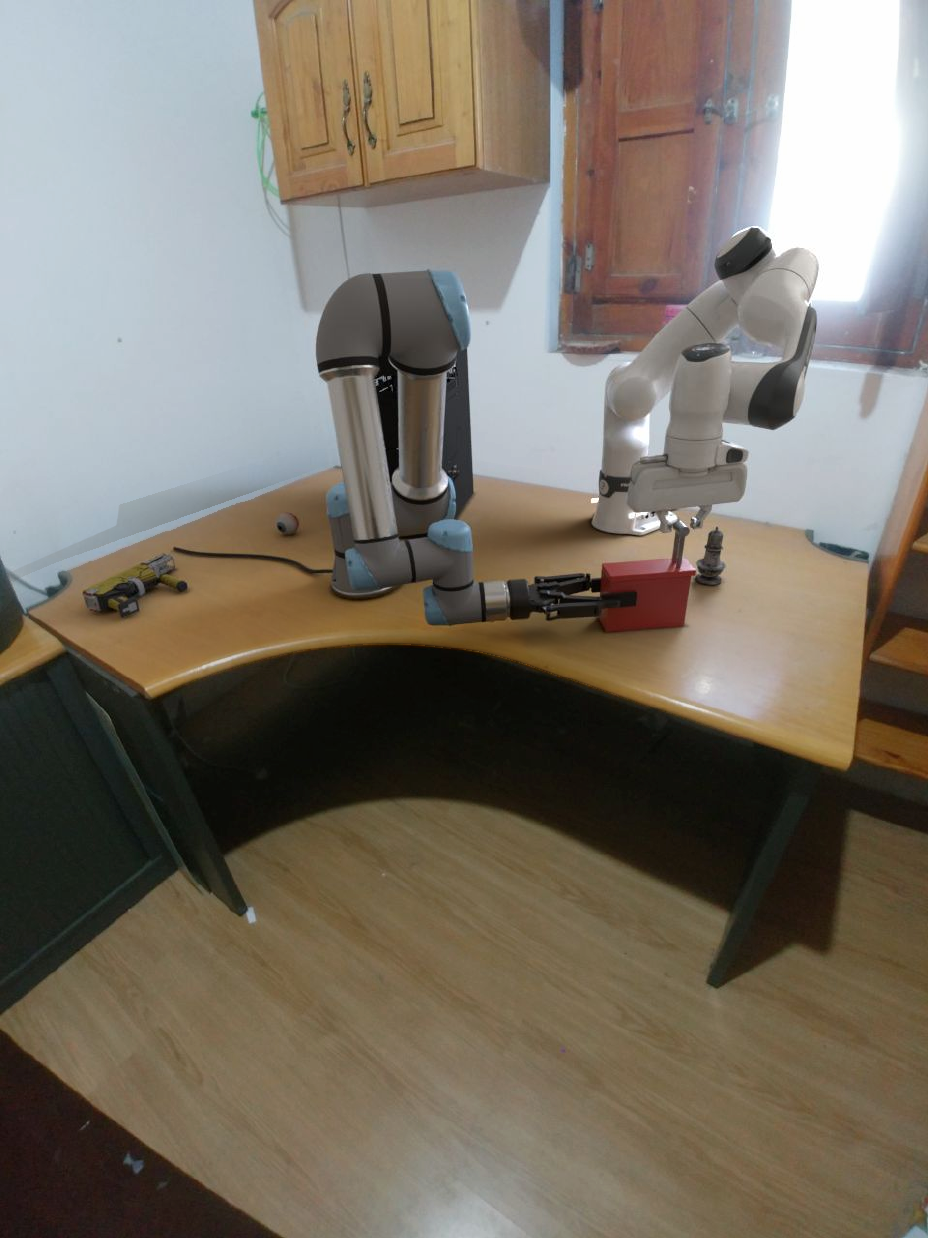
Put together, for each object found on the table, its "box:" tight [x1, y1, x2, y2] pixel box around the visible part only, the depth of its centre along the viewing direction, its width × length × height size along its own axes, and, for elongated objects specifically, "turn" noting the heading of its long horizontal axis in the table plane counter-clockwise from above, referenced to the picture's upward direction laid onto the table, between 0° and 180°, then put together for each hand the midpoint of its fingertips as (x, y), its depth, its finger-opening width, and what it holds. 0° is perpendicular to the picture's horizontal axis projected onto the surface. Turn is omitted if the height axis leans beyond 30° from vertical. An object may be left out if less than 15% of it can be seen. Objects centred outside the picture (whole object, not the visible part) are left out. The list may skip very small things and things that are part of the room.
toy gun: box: [81, 552, 188, 619], centre depth 136 cm, size 5×24×15 cm
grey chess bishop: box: [695, 526, 727, 586], centre depth 126 cm, size 6×6×12 cm
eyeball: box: [275, 511, 300, 536], centre depth 163 cm, size 6×6×6 cm
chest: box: [598, 569, 692, 633], centre depth 113 cm, size 15×6×10 cm, turn 94°
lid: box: [601, 520, 697, 582], centre depth 108 cm, size 16×6×9 cm, turn 94°
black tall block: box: [375, 347, 475, 539], centre depth 163 cm, size 38×20×45 cm, turn 167°
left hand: (630, 590), depth 112 cm, fingers closed on chest, 6 cm apart
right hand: (680, 529), depth 107 cm, fingers open, 4 cm apart
